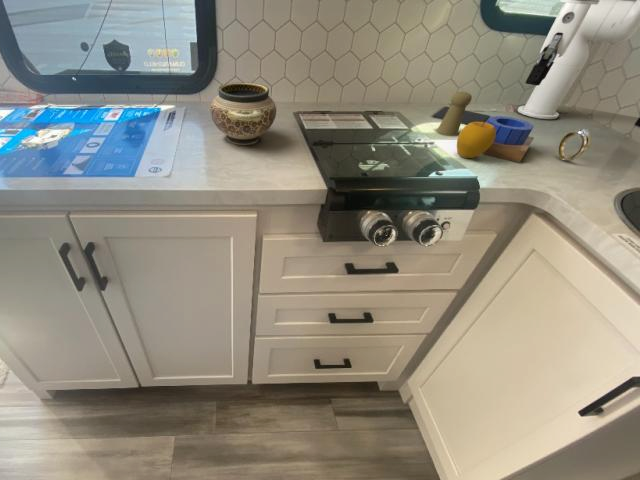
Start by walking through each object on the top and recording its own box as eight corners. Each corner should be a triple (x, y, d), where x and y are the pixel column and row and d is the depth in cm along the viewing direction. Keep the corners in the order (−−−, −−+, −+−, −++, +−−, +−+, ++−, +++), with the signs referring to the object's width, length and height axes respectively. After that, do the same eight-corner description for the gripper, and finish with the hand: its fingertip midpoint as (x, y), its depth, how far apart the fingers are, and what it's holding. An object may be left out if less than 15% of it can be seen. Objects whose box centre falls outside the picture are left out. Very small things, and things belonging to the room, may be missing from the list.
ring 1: (485, 128, 103) (493, 113, 100) (527, 137, 98) (536, 122, 95) (476, 137, 97) (484, 122, 94) (520, 148, 92) (530, 132, 89)
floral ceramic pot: (220, 133, 109) (206, 80, 99) (275, 119, 107) (267, 63, 97) (219, 166, 92) (202, 106, 82) (284, 150, 90) (275, 86, 79)
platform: (476, 136, 107) (481, 125, 105) (527, 148, 101) (534, 137, 98) (464, 148, 99) (469, 137, 97) (519, 162, 93) (526, 151, 91)
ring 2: (577, 165, 92) (600, 134, 87) (565, 165, 92) (587, 133, 87) (560, 155, 97) (581, 124, 92) (549, 154, 97) (569, 124, 92)
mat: (445, 107, 128) (445, 106, 127) (489, 116, 121) (489, 115, 121) (432, 116, 119) (432, 115, 119) (478, 127, 113) (479, 126, 112)
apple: (471, 165, 90) (490, 130, 84) (443, 154, 95) (458, 120, 89) (490, 159, 94) (508, 124, 87) (461, 148, 99) (477, 115, 93)
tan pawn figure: (452, 137, 105) (470, 96, 98) (433, 131, 109) (449, 91, 101) (460, 132, 108) (478, 93, 101) (442, 127, 111) (458, 88, 104)
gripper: (601, -4, 72) (547, 89, 84) (603, -5, 82) (554, 78, 94) (559, -6, 75) (512, 84, 87) (566, -7, 85) (523, 74, 97)
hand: (534, 81), depth 90 cm, fingers open, 9 cm apart
